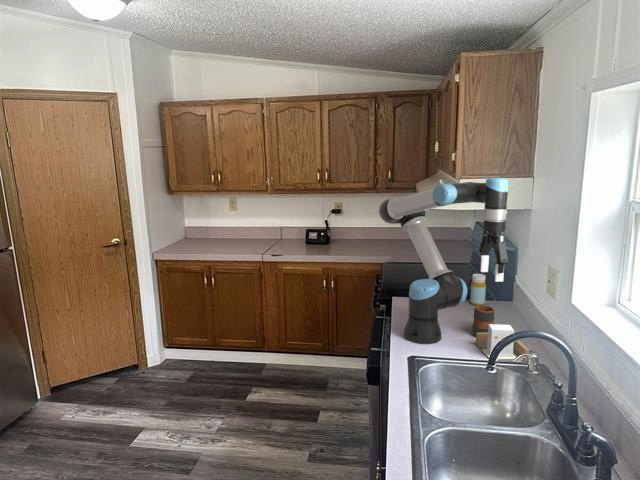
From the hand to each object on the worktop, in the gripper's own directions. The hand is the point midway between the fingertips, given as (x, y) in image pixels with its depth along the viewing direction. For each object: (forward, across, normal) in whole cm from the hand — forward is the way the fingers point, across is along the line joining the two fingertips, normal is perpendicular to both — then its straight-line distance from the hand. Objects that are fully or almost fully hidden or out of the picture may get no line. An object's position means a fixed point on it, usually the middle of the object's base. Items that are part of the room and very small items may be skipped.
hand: (491, 276), depth 160 cm
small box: (+28, -6, -2) cm, 29 cm away
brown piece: (+29, -4, -4) cm, 29 cm away
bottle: (+29, +52, -16) cm, 62 cm away
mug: (+29, +14, -4) cm, 32 cm away
